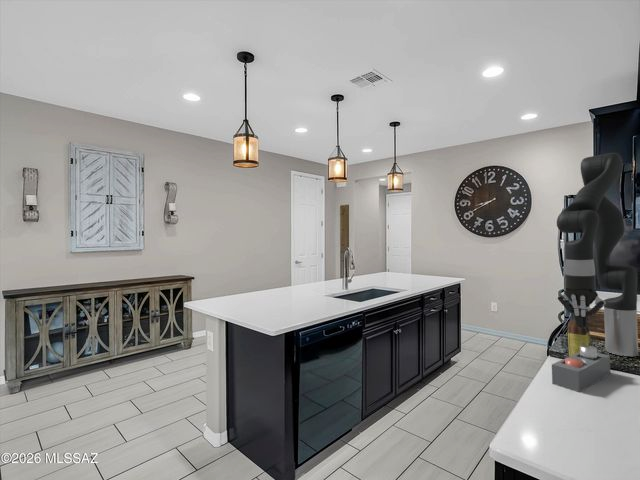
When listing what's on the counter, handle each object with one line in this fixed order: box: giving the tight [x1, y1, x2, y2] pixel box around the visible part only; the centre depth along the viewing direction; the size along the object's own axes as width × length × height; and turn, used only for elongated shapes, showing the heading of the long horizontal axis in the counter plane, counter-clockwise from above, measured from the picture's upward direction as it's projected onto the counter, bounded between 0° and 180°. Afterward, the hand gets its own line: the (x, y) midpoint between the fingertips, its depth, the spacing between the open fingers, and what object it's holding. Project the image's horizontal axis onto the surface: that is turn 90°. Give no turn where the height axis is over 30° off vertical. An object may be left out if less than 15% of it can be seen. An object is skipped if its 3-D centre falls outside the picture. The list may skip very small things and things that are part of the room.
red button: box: [564, 357, 583, 368], centre depth 103 cm, size 4×4×5 cm
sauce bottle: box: [567, 313, 592, 357], centre depth 119 cm, size 7×6×20 cm
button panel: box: [551, 352, 611, 393], centre depth 106 cm, size 22×7×6 cm, turn 121°
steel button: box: [580, 345, 598, 361], centre depth 108 cm, size 4×4×5 cm
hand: (582, 327), depth 106 cm, fingers closed
